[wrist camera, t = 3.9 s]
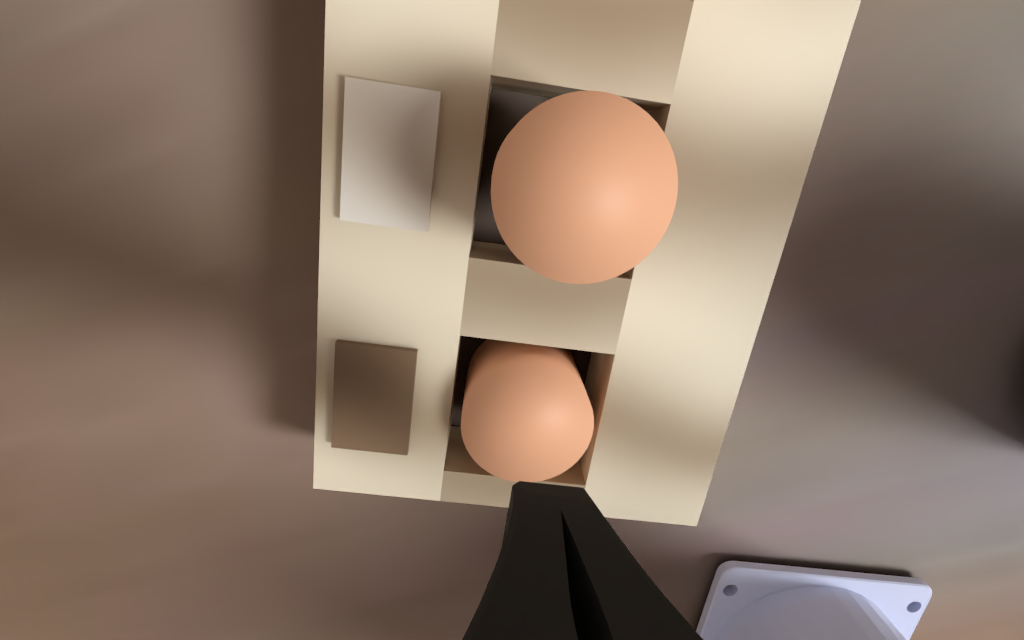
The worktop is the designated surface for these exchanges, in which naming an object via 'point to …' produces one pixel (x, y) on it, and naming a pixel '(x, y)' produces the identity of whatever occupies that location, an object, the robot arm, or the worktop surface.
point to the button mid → (584, 187)
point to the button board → (516, 288)
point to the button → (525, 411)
